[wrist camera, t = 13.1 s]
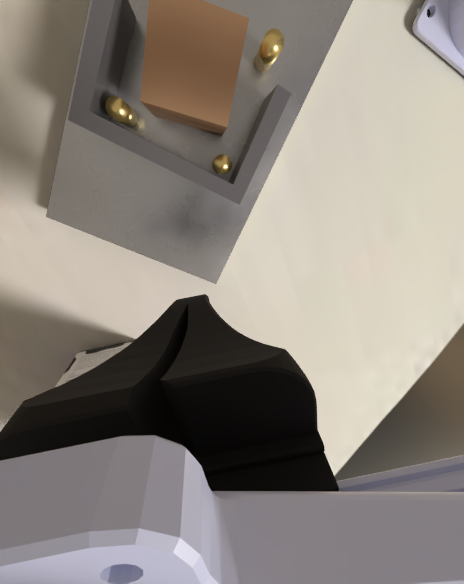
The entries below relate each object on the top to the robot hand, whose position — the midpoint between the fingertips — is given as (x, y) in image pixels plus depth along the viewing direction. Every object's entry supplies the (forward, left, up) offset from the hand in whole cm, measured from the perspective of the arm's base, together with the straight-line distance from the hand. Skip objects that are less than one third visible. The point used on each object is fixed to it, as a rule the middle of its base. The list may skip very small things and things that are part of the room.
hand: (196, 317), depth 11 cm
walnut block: (-9, -4, -9) cm, 13 cm away
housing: (-7, -4, -9) cm, 12 cm away
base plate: (-8, -4, -10) cm, 13 cm away
